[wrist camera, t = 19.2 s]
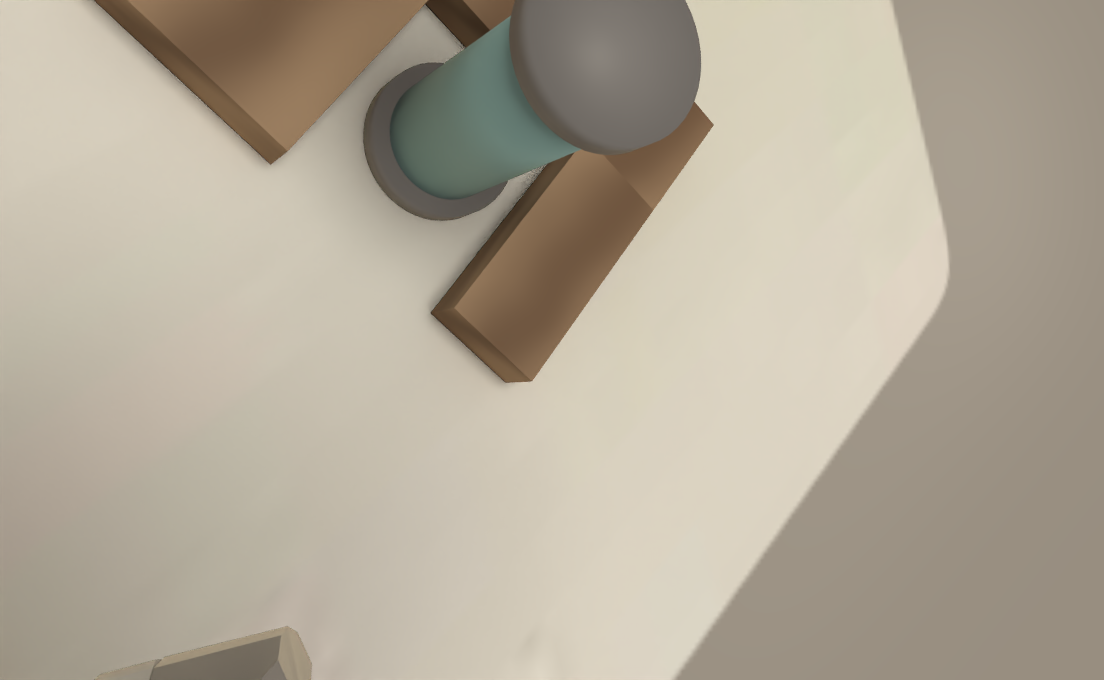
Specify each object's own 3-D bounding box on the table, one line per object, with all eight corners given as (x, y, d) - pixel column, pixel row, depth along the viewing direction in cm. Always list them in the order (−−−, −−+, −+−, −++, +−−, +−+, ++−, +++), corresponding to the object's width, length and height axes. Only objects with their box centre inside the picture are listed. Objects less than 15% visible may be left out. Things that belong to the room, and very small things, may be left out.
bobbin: (332, 142, 35) (487, 29, 25) (426, 39, 37) (605, -104, 27) (445, 251, 37) (632, 190, 27) (528, 148, 39) (731, 54, 29)
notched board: (72, -20, 31) (79, -46, 29) (346, -256, 36) (365, -290, 34) (505, 382, 38) (531, 381, 36) (683, 136, 43) (713, 125, 41)
